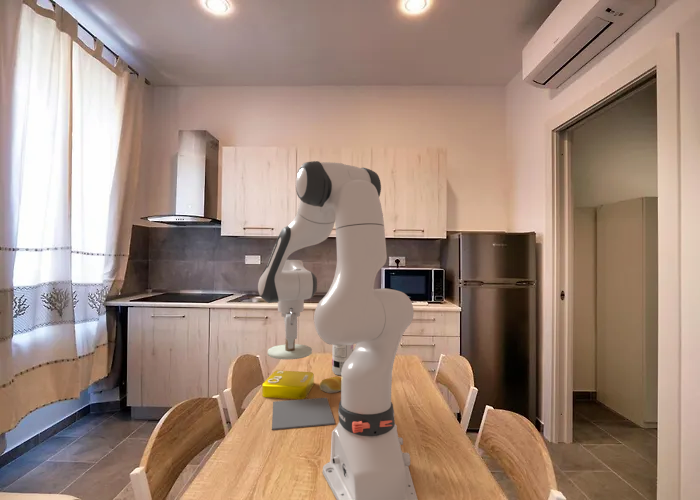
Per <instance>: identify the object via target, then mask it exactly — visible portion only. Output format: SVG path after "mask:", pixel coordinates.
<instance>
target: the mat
mask: <svg viewBox="0 0 700 500" xmlns="http://www.w3.org/2000/svg"><path fill="white" fill-rule="evenodd" d="M271 417H272V419H271V420H272V423H271V430H272V431H274V430H276V431H277V430H287V429H288V430H289V429H297V428H308V427H319V426H321V427H322V426H331V425H336V421H335V418H334V415H333V412H332V409H331V407H330V403H329V400H328V397H318V398H317V397H315V398H305V399H288V400H278V401H275V400H274V401H272V416H271Z"/></svg>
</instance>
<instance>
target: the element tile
mask: <svg viewBox="0 0 700 500" xmlns="http://www.w3.org/2000/svg"><path fill="white" fill-rule="evenodd" d="M314 374H315V373H313V371H292V370H275V371H274V372H272V373H271V374H270V375H269V376H268V377H267V378H266V379H265V380H264V381H263V382H262V384H261V388H262V389H261V396H262V398H265V399H267V398H269V399H284V400H286V399H288V400H301V399H307V397H308V395H309V394H310V392H311V390H312V388H313V387H314V382H315V379H314V377H315V376H314Z"/></svg>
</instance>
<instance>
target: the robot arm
mask: <svg viewBox="0 0 700 500" xmlns="http://www.w3.org/2000/svg"><path fill="white" fill-rule="evenodd" d="M380 179H381V178H380V177H379V175H378V174H377V172H376V171H374V170H372V169H369V168H366V167H359V166H354V165H349V164H344V163H341V162H330V161H329V162H320V161H318V160H317V161H316V160H314V161H307V162H303V163H302V164H301V166H300V167H299V168H298V170H297V173H296V178H295V191H296V195H297V197H298V198H299V204H298V208H297V211H296V212H297V213H296V214H295V216H294V218H293V220H292V221H291V222H290V223H289V224H288V225H286V226H284V227H283V228H282V229H281V231H280V232H279V234H278V236H277V239H276V240H275V244H274V245H273V248H272V250H271V253H270V256H269V259H268V260H267V263H266V265H265V268H264V270H263V271H262V273H261V274H260V276H259V279H258V283H257V290H258V291H257V293H258V295H259V297H260V298H261V299H262V300H263V301H265V302H267V304H270V303H277V312H278V313H281V317H283V322H284V323H283V324H284V334H285V338H286V339H288V348H289V349H292V348H293V342H294V339H295V340H297V339H298V317H300V315H301V313H302V312H305V311H304V309H305V306H304V305H305V303H304V302H305V300H308V299H312V298H313V297H314V296H315V294H316V293H317V290H318V279H317V276H316V275H315V274H314V273H313V272H312V271H311V270H308V269H306V267H304V262H303V260H301V259H299V258H298V259H296V258H289V256H290V255H291V254H293V253H295V252H296V251H299V250H301V249H304V248H307V247H310V246H315V245H318V244H320V243H322V242H324V241H326V240H327V239H328V238H329V236H331V234H332V232H333V229H334V226H335V242H336V266H335V267H336V268H335V271H334V277H333V280H332V283H331V284H330V287H329V289H328V291H327V292H326V294H325V295H324V296H323V298H322V299H320V300H319V302H318V303H317V305H316V308H315V310H314V313H313V314H314V316H313V324H314V328H315V331H316V333H317V335H318V336H319V337H320V339H321V340H322V341H323V342H324V343H326V344H328V345H330V346H331V345H332V346H333V345H353V346H354V345H355V346H354V347H353V352H352V354H351V355H350V356H349V358H348V359H347V360H346V361H345V363H344V364H343V367H342V371H341V376H340V377H341V390H340V401H339V404H338V411H337V412H338V423H337V425H336V426H335V427H334V429H333V430H332V431H331V441H330V461H329V462H327V463H325V464H323V467H322V474H323V476H324V478H325V481H327V482H326V483H327V484H328V486H329V488H330V489H331V491H332V493H333V495H334V497H335V500H418V496H417V493H416V489H415V485H414V481H413V479H412V474H411V472H410V471H411V470H410V468H409V466H411V456H410V455H411V454H410V453H409V452H403V451H402V448H401V446H402V445H404V440H403V437H399V435H398V434H399V432H398V429H397V428H398V426H397V424H396V421H395V410H394V404H393V402H392V382H393V380H392V379H393V368H394V364H395V359H396V355H397V351H398V348H399V345H400V343H401V340H402V338H403V335H404V333H405V332H406V331H407V329H408V327H409V326H410V325H411V324H412V323H413V320H414V314H415V312H414V306H413V303H412V302H413V301H412V300H411V299H410V298H409V296H408V295H407V294H406V293H405V292H403V291H400V290H396V289H391V288H375V287H374V286H375V281H376V277H377V276H378V272H379V271H380V270H381V269H382V268H383V267H384V266H385V264H386V263H387V258H388V256H387V245H386V244H387V242H386V232H385V230H386V229H385V222H384V214H383V209H382V204H381V200H380V199H381V198H380V196H381V192H382V184H381V180H380ZM288 258H289V259H288Z"/></svg>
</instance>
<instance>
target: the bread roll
mask: <svg viewBox="0 0 700 500" xmlns="http://www.w3.org/2000/svg"><path fill="white" fill-rule="evenodd" d="M319 389H320V391H322V392H325V393H328V394H335V393H338V392H341V376H339V375H335V376H331V377H328V378H324V379H322V380H321V381H320V383H319Z"/></svg>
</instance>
